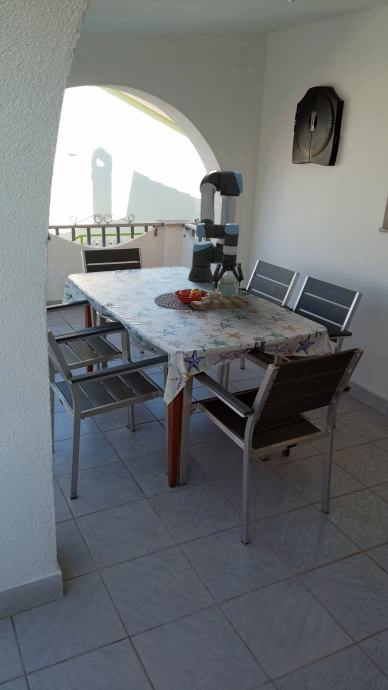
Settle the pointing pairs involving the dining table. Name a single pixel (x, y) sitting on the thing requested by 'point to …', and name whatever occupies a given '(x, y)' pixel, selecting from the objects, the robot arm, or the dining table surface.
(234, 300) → the board
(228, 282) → the coffee cup
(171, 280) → the dining table surface
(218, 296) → the gauge
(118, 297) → the dining table surface
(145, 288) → the dining table surface
